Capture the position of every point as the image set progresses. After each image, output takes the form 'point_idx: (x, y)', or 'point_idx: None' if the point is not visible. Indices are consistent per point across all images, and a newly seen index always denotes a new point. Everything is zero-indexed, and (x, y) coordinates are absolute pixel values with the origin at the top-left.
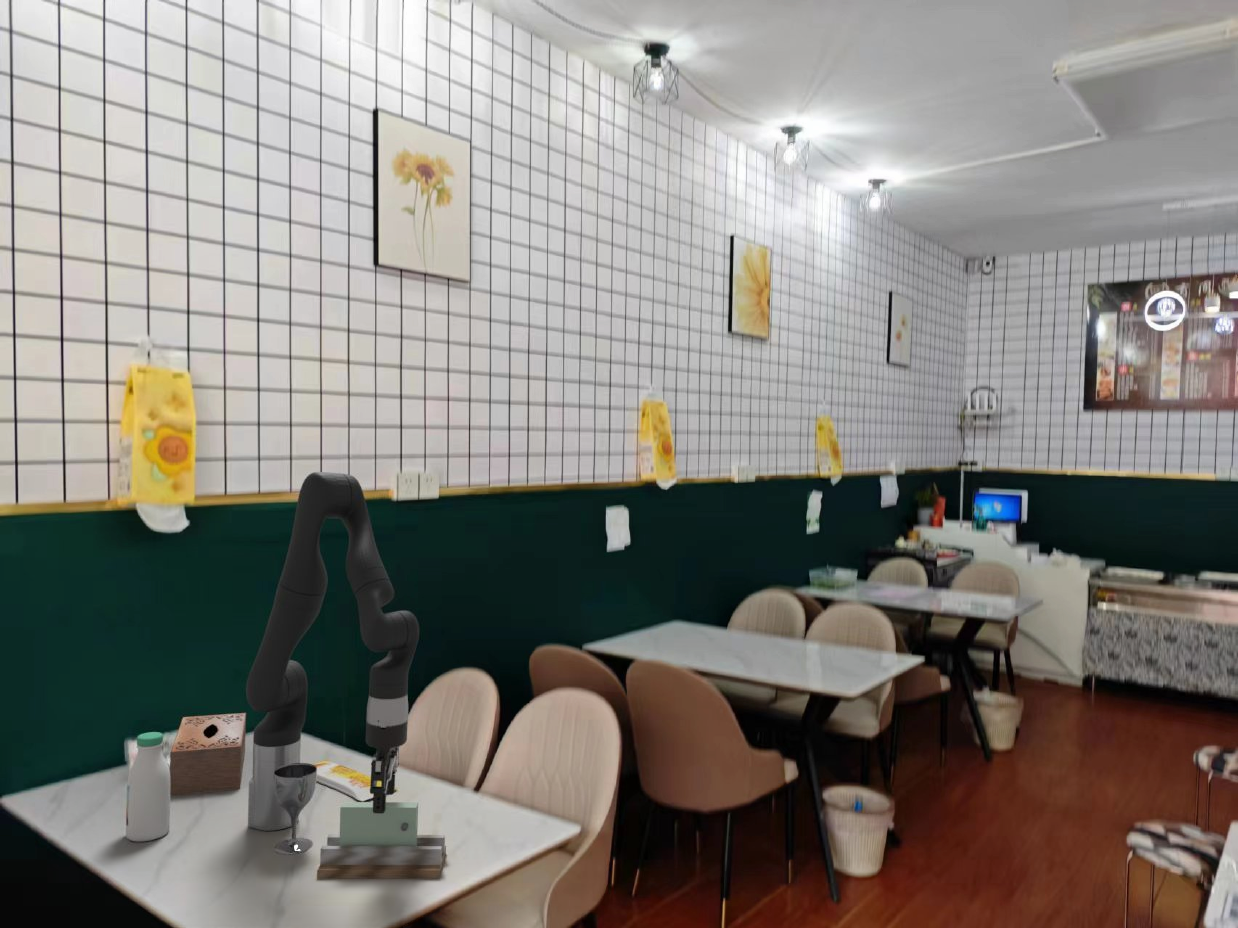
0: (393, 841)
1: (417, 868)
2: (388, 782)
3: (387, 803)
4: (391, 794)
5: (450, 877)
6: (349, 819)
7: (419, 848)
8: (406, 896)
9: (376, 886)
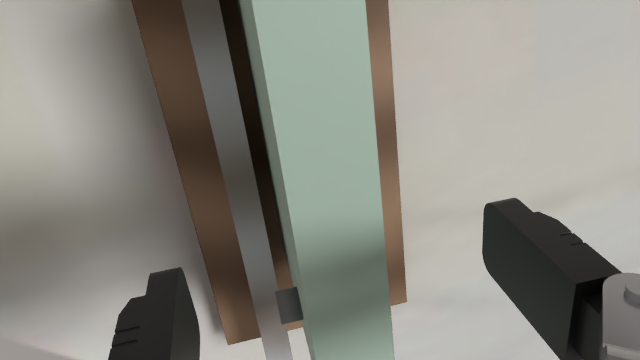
0: (280, 216)
1: (224, 282)
2: (533, 284)
3: (366, 263)
4: (483, 251)
5: (241, 351)
6: (249, 15)
7: (261, 314)
8: (78, 284)
9: (114, 163)
